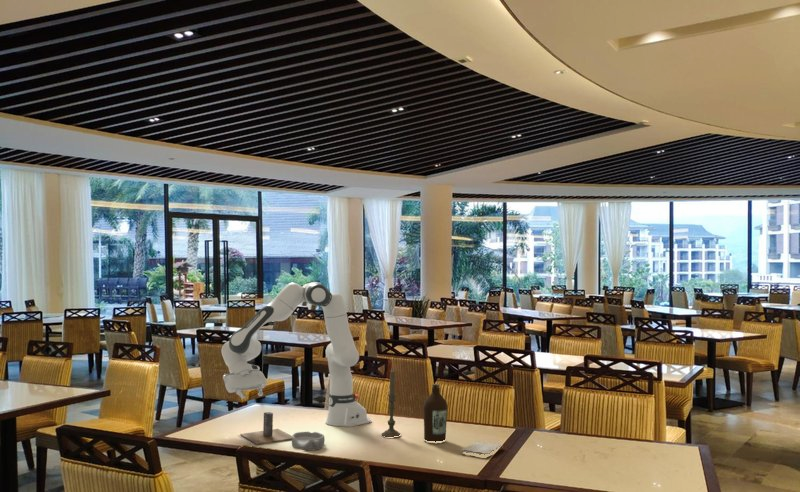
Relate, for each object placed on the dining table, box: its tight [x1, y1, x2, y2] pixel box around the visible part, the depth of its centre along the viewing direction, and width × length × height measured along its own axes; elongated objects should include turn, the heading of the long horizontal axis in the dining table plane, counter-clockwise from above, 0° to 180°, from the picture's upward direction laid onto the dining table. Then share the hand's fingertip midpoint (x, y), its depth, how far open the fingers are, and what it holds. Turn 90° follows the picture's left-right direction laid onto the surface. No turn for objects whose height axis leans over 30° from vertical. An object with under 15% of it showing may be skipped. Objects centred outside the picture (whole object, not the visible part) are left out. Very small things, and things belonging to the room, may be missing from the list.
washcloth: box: [461, 441, 502, 455], centre depth 276 cm, size 12×18×3 cm, turn 150°
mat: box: [237, 434, 292, 447], centre depth 289 cm, size 20×20×1 cm
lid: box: [239, 411, 292, 446], centre depth 289 cm, size 18×18×11 cm
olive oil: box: [423, 383, 448, 442], centre depth 291 cm, size 11×11×25 cm
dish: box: [291, 431, 326, 451], centre depth 279 cm, size 14×14×5 cm
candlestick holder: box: [380, 369, 401, 438], centre depth 300 cm, size 9×9×30 cm
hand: (252, 396), depth 297 cm, fingers open, 8 cm apart
